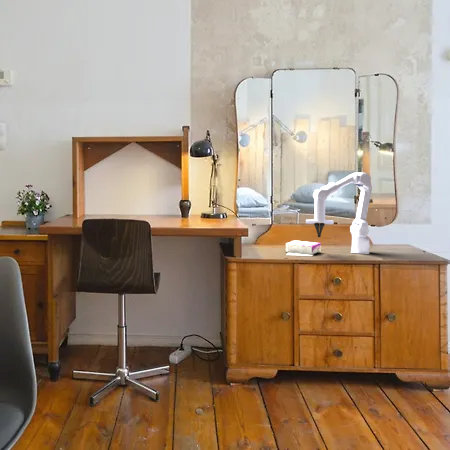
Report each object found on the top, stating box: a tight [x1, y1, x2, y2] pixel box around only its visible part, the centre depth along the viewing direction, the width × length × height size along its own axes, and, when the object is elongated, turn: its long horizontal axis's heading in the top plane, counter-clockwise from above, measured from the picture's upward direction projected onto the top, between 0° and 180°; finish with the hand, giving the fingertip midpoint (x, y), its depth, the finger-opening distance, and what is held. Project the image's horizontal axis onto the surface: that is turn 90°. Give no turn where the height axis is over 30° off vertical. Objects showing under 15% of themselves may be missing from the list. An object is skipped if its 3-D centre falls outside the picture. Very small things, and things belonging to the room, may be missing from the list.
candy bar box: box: [285, 240, 322, 255], centre depth 247 cm, size 11×5×16 cm
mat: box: [285, 252, 314, 257], centre depth 244 cm, size 14×16×1 cm
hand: (319, 237), depth 241 cm, fingers closed
